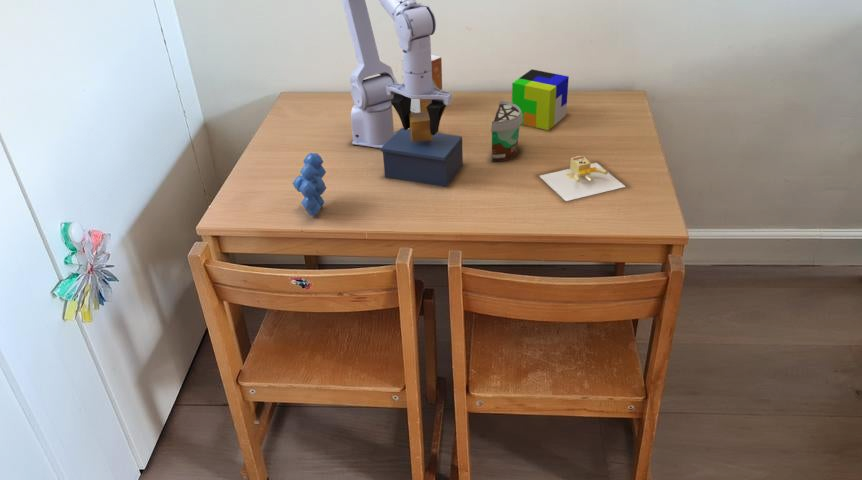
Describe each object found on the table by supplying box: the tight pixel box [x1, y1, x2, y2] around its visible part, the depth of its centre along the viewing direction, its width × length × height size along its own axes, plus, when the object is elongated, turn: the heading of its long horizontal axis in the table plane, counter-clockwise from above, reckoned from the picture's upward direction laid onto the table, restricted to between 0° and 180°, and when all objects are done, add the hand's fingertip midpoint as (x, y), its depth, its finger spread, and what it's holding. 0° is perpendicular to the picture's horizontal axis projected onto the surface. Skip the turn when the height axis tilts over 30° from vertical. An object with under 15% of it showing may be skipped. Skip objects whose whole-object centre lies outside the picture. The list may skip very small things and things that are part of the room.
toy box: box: [382, 140, 464, 188], centre depth 168 cm, size 10×15×6 cm
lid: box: [380, 127, 463, 161], centre depth 165 cm, size 11×15×1 cm
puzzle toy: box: [511, 69, 569, 131], centre depth 187 cm, size 10×10×10 cm
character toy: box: [568, 154, 609, 183], centre depth 163 cm, size 8×3×8 cm
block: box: [409, 112, 433, 142], centre depth 163 cm, size 4×4×5 cm
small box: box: [401, 53, 443, 113], centre depth 193 cm, size 8×6×13 cm
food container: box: [490, 100, 523, 162], centre depth 172 cm, size 12×6×10 cm, turn 169°
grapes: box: [291, 152, 327, 217], centre depth 154 cm, size 12×7×12 cm, turn 174°
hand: (421, 130), depth 163 cm, fingers closed on block, 6 cm apart
